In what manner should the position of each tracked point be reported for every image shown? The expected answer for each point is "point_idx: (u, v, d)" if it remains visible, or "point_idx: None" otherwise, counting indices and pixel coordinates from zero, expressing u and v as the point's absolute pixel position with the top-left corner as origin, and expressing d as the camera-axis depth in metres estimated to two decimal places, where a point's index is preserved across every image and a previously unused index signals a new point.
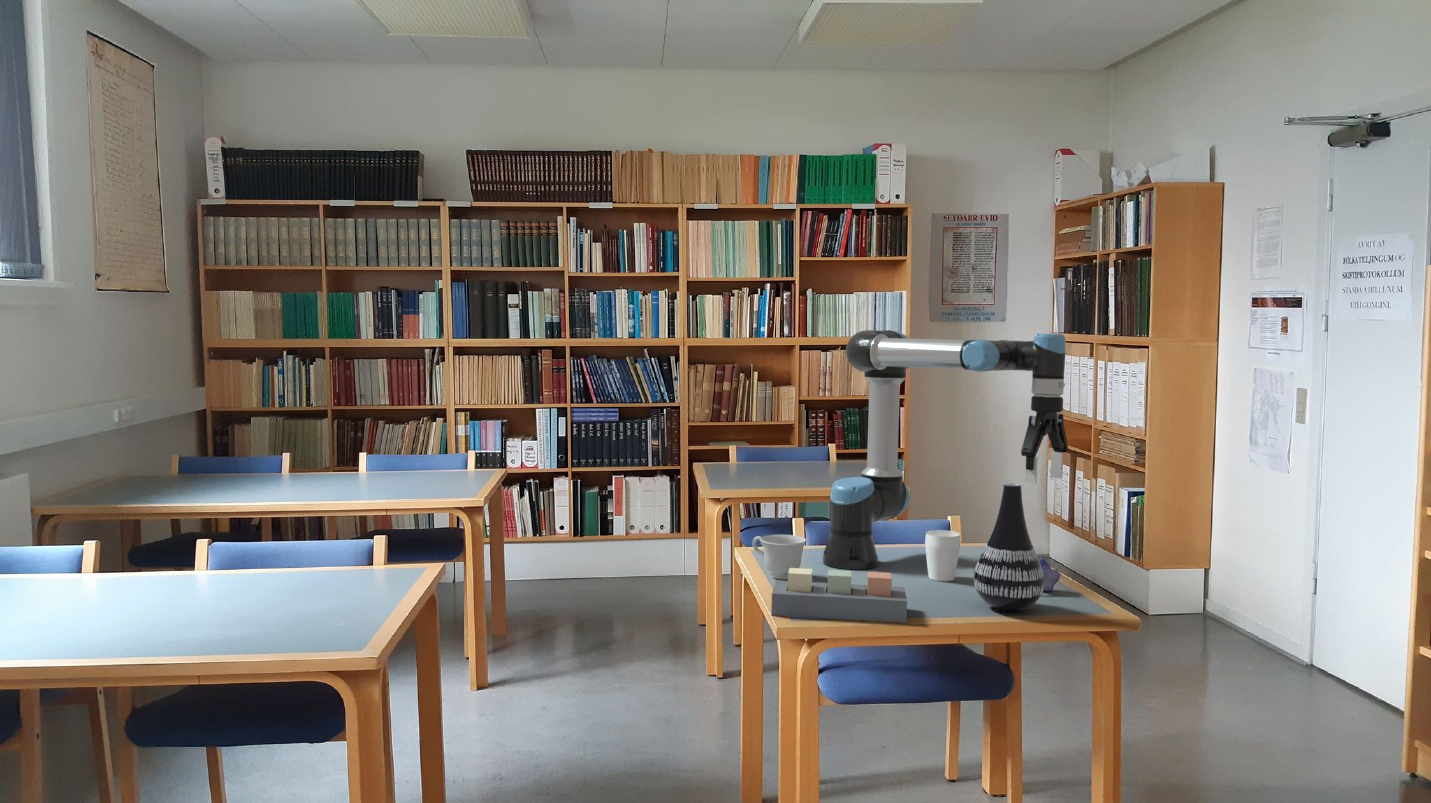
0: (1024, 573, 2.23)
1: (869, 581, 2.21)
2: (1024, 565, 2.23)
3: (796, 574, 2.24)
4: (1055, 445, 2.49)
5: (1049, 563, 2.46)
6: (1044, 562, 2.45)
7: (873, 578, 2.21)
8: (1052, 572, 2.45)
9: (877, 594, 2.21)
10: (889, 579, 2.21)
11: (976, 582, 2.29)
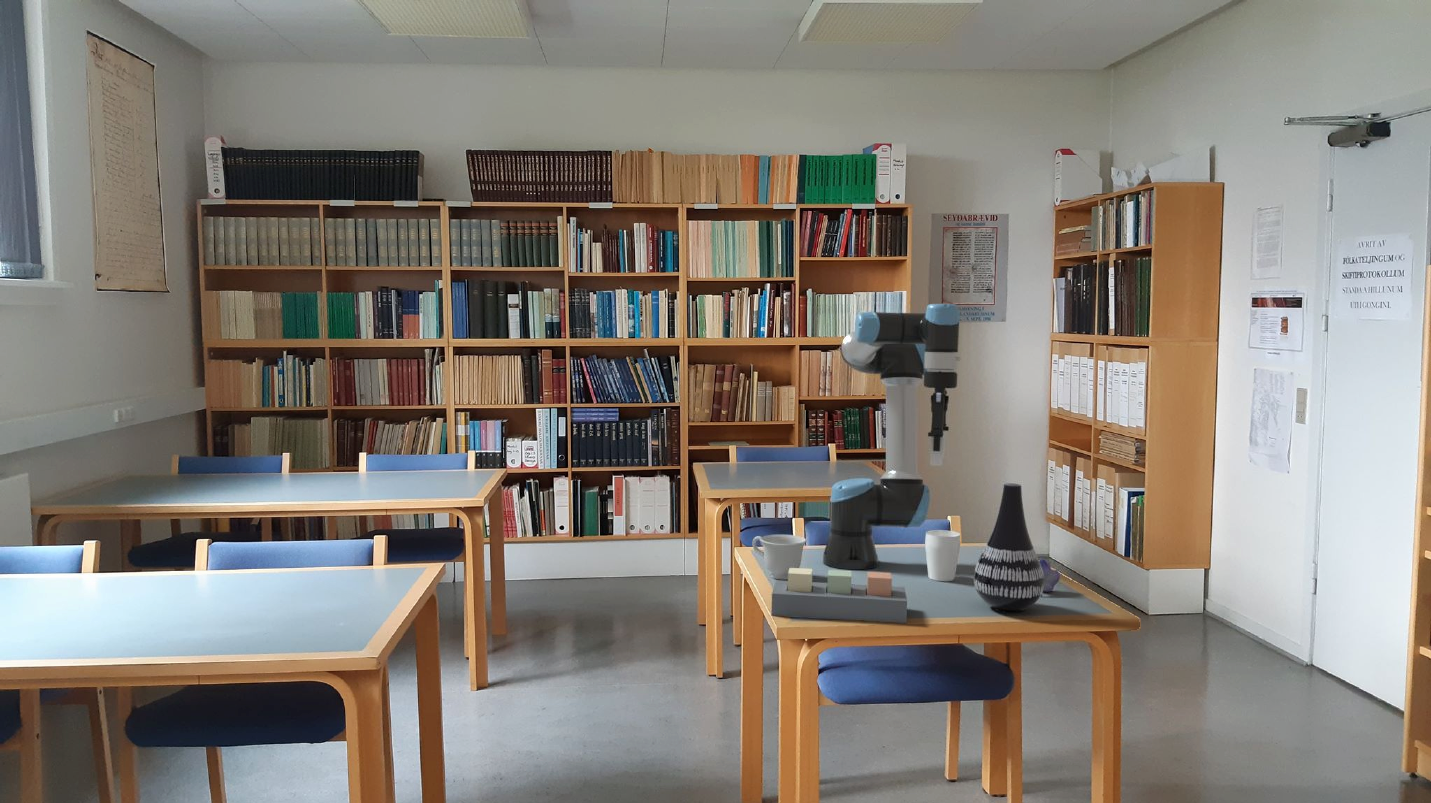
0: (1024, 573, 2.23)
1: (869, 581, 2.21)
2: (1024, 565, 2.23)
3: (796, 574, 2.24)
4: None
5: (1049, 564, 2.45)
6: (1044, 563, 2.44)
7: (873, 578, 2.21)
8: (1052, 573, 2.44)
9: (877, 594, 2.21)
10: (889, 579, 2.21)
11: (976, 582, 2.29)
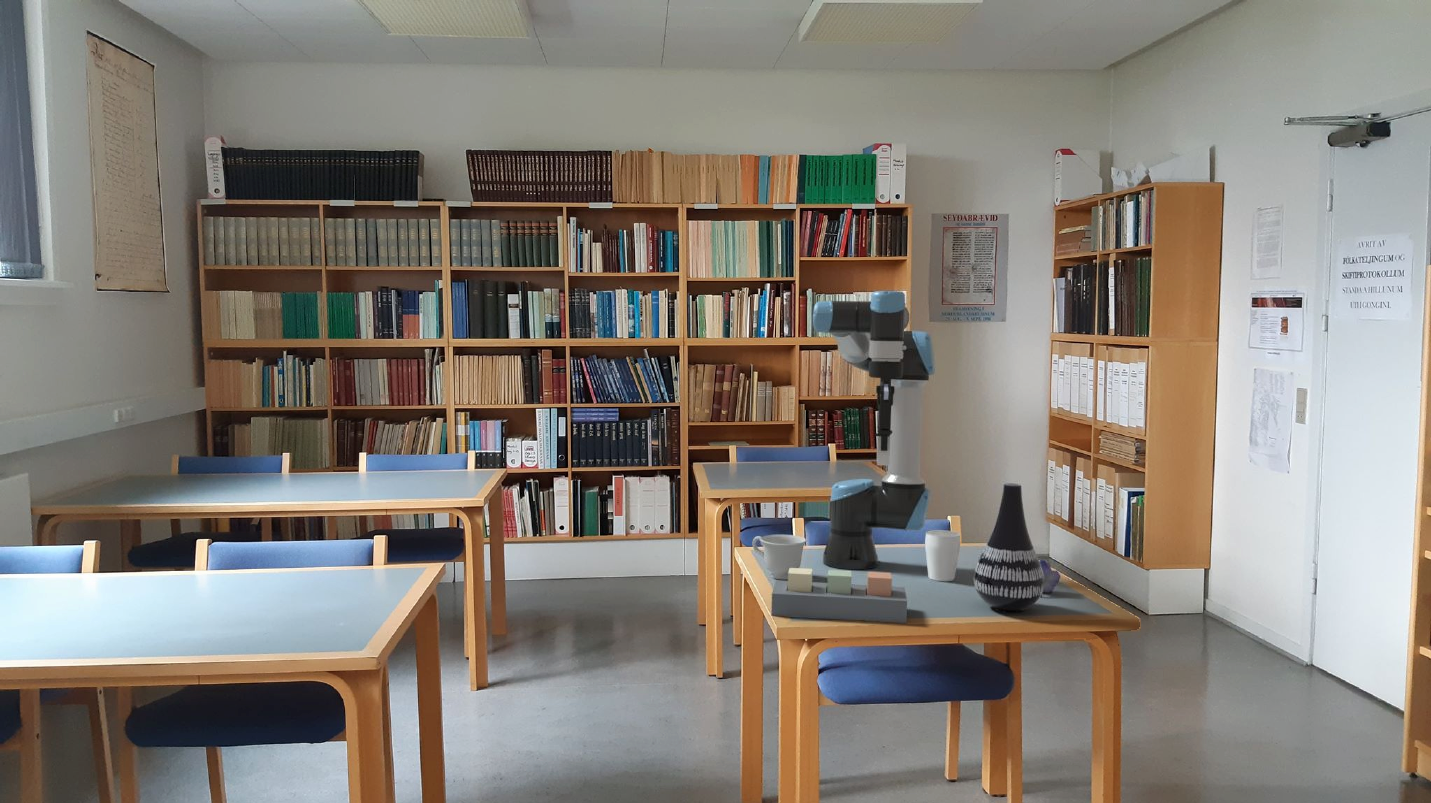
0: (1024, 573, 2.23)
1: (869, 581, 2.21)
2: (1024, 565, 2.23)
3: (796, 574, 2.24)
4: None
5: (1049, 564, 2.45)
6: (1044, 563, 2.43)
7: (873, 578, 2.21)
8: (1052, 573, 2.44)
9: (877, 594, 2.21)
10: (889, 579, 2.21)
11: (976, 582, 2.29)
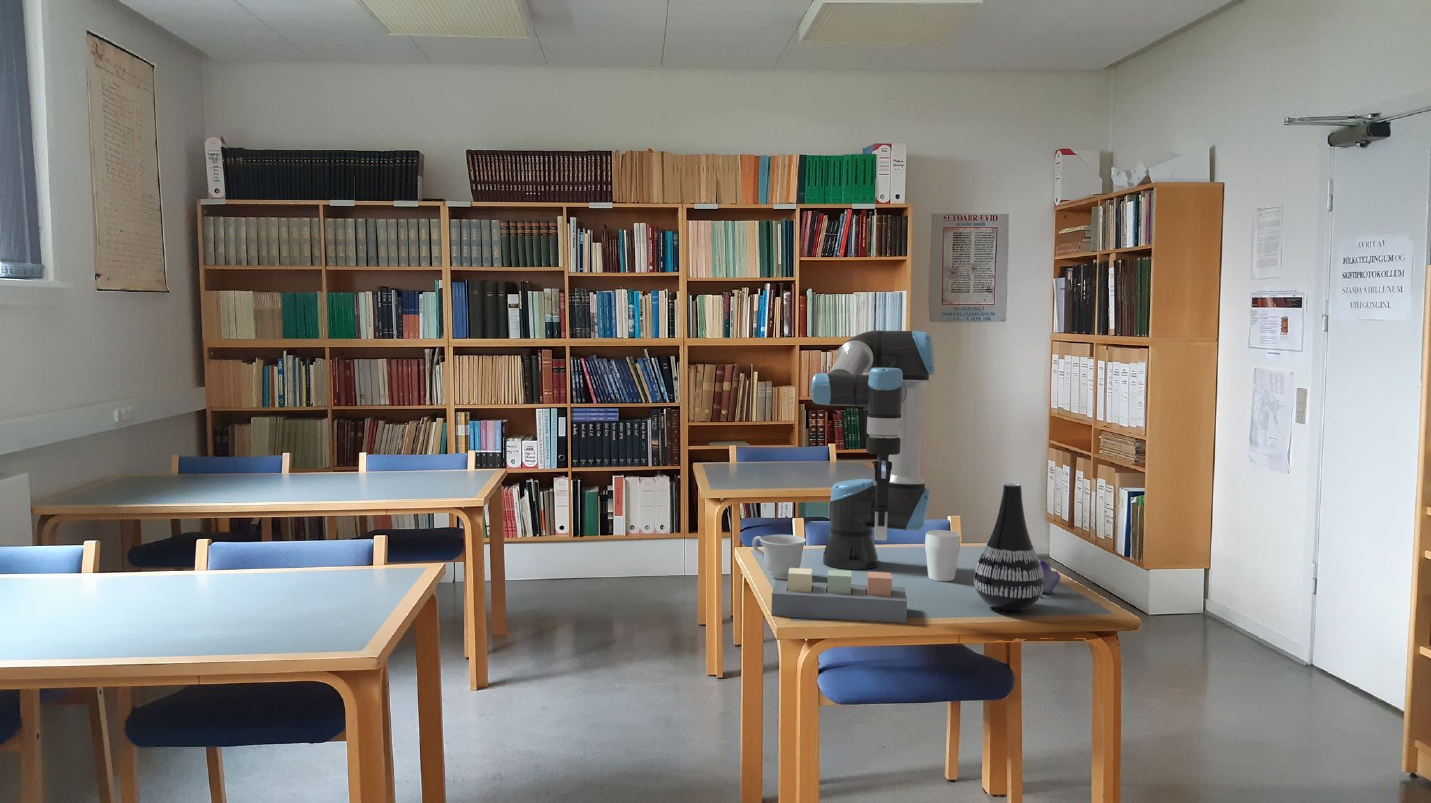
0: (1024, 573, 2.23)
1: (869, 581, 2.21)
2: (1024, 565, 2.23)
3: (796, 574, 2.24)
4: None
5: (1049, 565, 2.44)
6: (1044, 564, 2.43)
7: (873, 578, 2.21)
8: (1052, 574, 2.43)
9: (877, 594, 2.21)
10: (889, 579, 2.21)
11: (976, 582, 2.29)
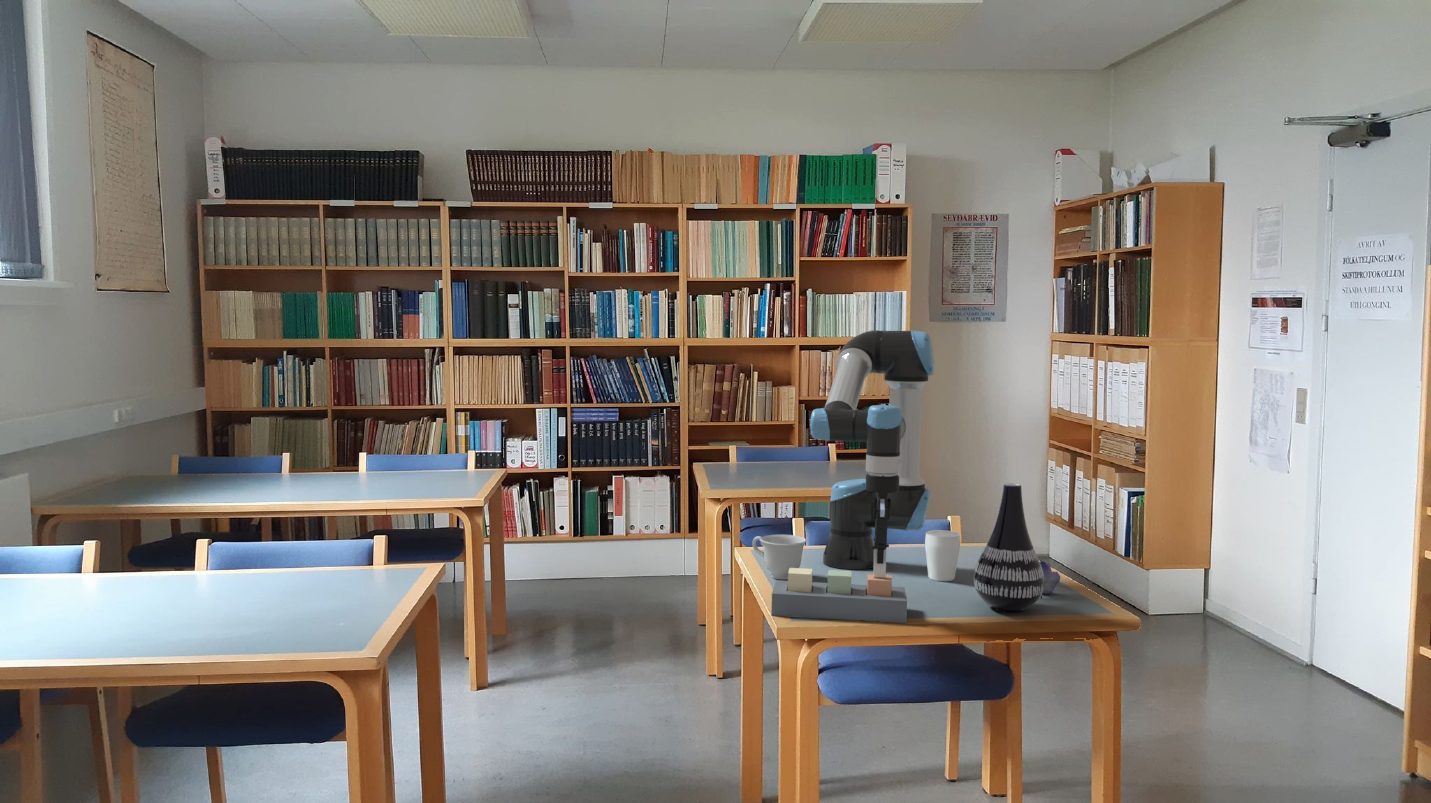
0: (1024, 573, 2.23)
1: (869, 583, 2.21)
2: (1024, 565, 2.23)
3: (796, 574, 2.24)
4: None
5: (1049, 565, 2.43)
6: (1044, 564, 2.42)
7: (873, 580, 2.21)
8: (1052, 574, 2.42)
9: None
10: (889, 581, 2.21)
11: (976, 582, 2.29)
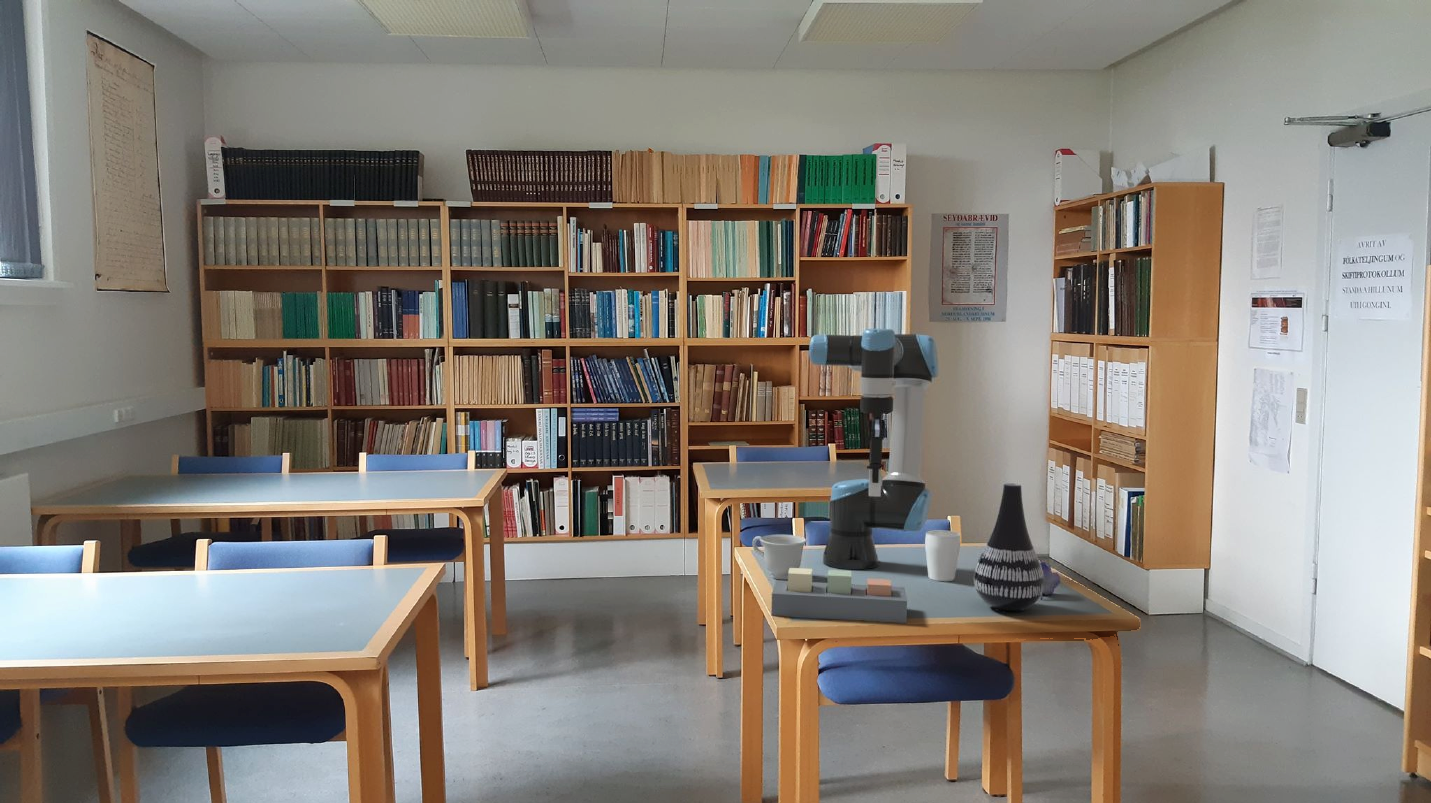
0: (1024, 573, 2.23)
1: (869, 588, 2.21)
2: (1024, 565, 2.23)
3: (796, 574, 2.24)
4: None
5: (1049, 566, 2.43)
6: (1044, 565, 2.41)
7: (873, 585, 2.21)
8: (1052, 575, 2.42)
9: None
10: (889, 586, 2.21)
11: (976, 582, 2.29)
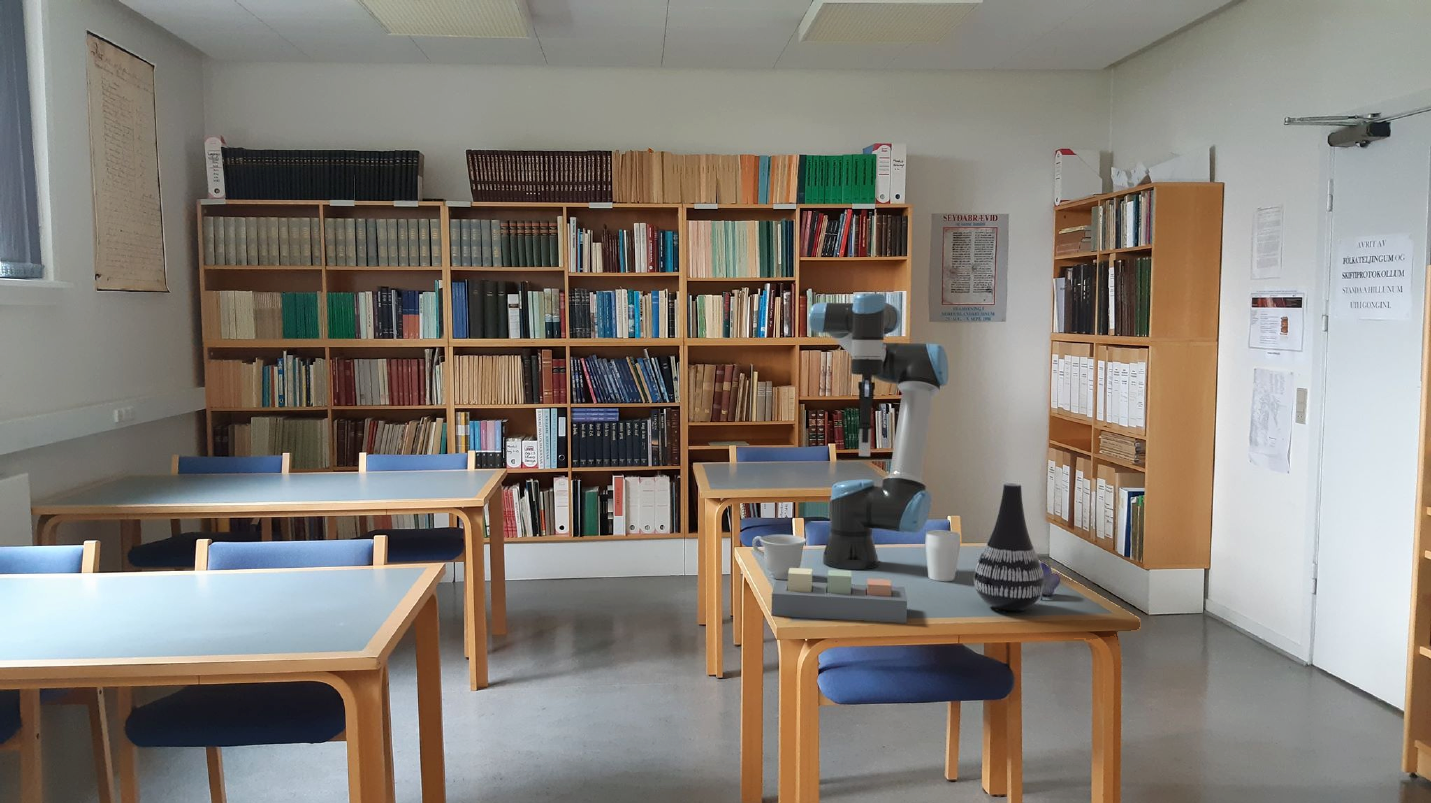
0: (1024, 573, 2.23)
1: (869, 588, 2.21)
2: (1024, 565, 2.23)
3: (796, 574, 2.24)
4: None
5: (1049, 567, 2.42)
6: (1044, 566, 2.41)
7: (873, 585, 2.21)
8: (1052, 576, 2.41)
9: None
10: (889, 586, 2.21)
11: (976, 582, 2.29)
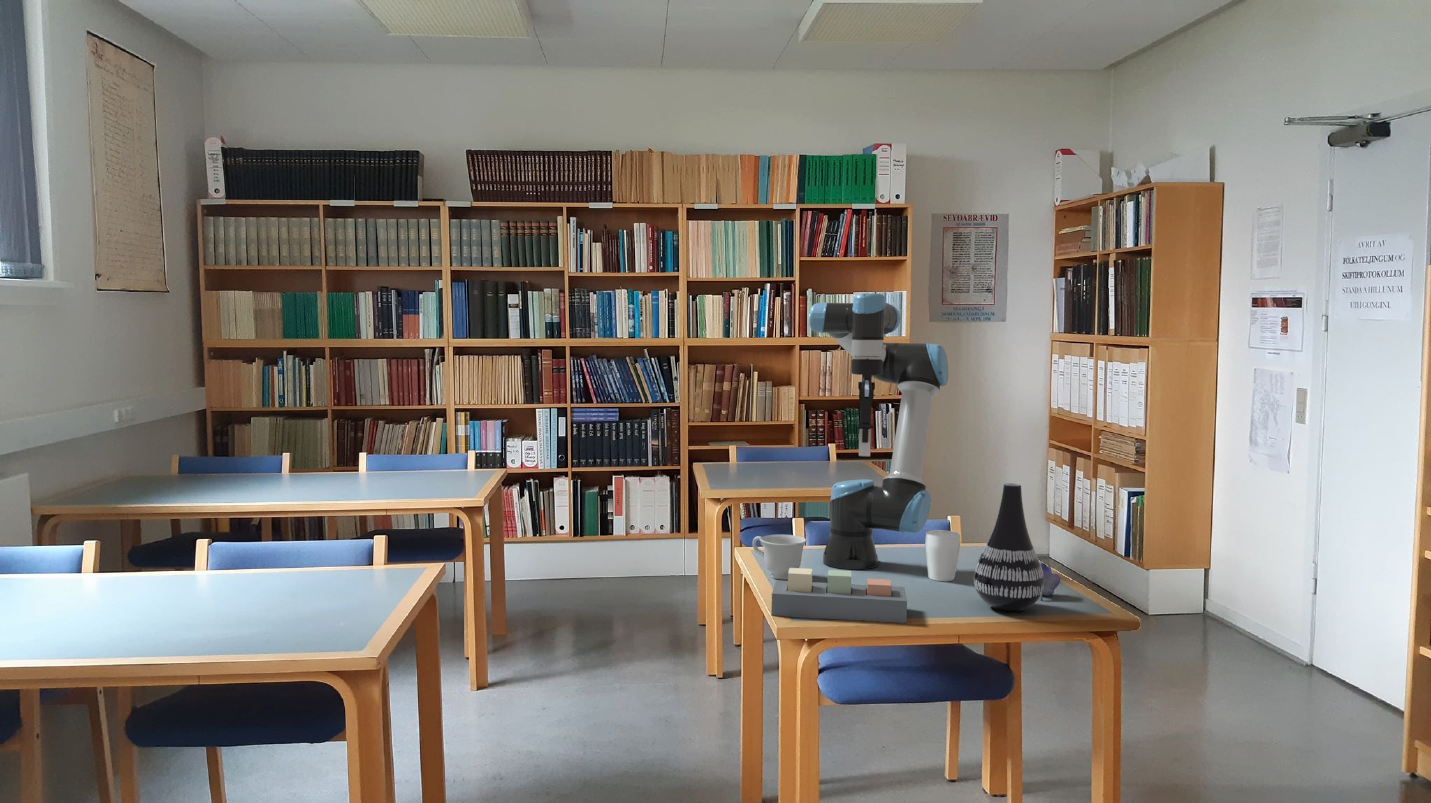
0: (1024, 573, 2.23)
1: (869, 588, 2.21)
2: (1024, 565, 2.23)
3: (796, 574, 2.24)
4: None
5: (1049, 567, 2.42)
6: (1044, 566, 2.40)
7: (873, 585, 2.21)
8: (1052, 576, 2.41)
9: None
10: (889, 586, 2.21)
11: (976, 582, 2.29)
